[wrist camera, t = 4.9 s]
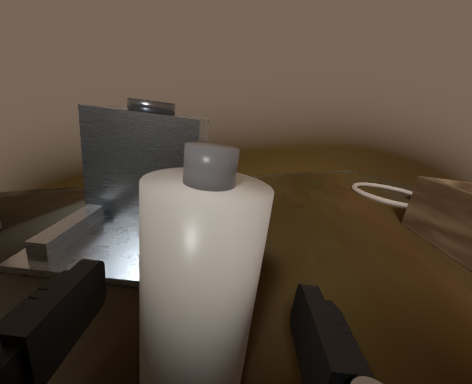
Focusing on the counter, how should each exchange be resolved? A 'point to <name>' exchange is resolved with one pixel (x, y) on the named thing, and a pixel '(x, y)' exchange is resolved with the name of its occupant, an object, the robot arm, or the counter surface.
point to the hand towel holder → (379, 199)
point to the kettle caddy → (443, 216)
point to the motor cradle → (111, 189)
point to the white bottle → (199, 266)
